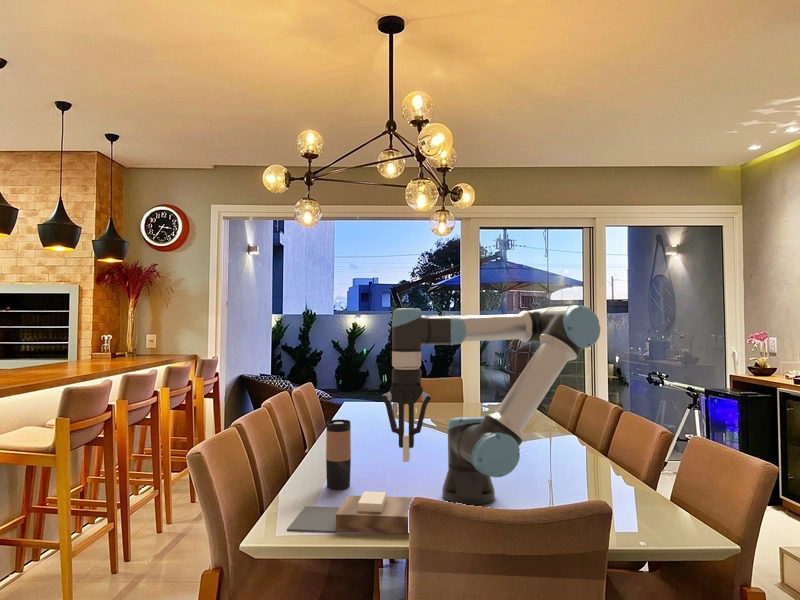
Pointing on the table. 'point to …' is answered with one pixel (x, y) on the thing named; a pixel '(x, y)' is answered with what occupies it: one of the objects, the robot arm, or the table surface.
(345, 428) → the travel mug
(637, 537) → the table surface
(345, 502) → the wooden block
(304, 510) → the mat
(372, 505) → the tile
